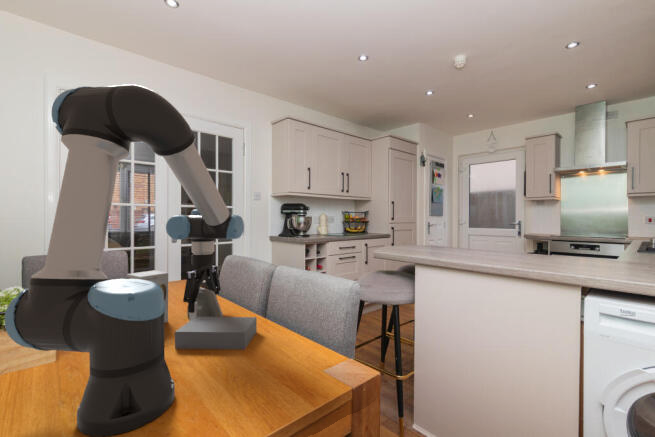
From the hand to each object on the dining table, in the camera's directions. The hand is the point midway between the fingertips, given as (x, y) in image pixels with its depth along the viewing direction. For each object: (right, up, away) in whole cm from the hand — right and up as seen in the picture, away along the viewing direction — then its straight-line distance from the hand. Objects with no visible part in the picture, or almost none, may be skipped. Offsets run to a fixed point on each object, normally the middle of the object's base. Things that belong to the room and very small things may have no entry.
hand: (203, 316), depth 106 cm
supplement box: (-16, -1, -6) cm, 17 cm away
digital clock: (0, -1, 0) cm, 1 cm away
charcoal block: (+12, -1, -19) cm, 23 cm away
